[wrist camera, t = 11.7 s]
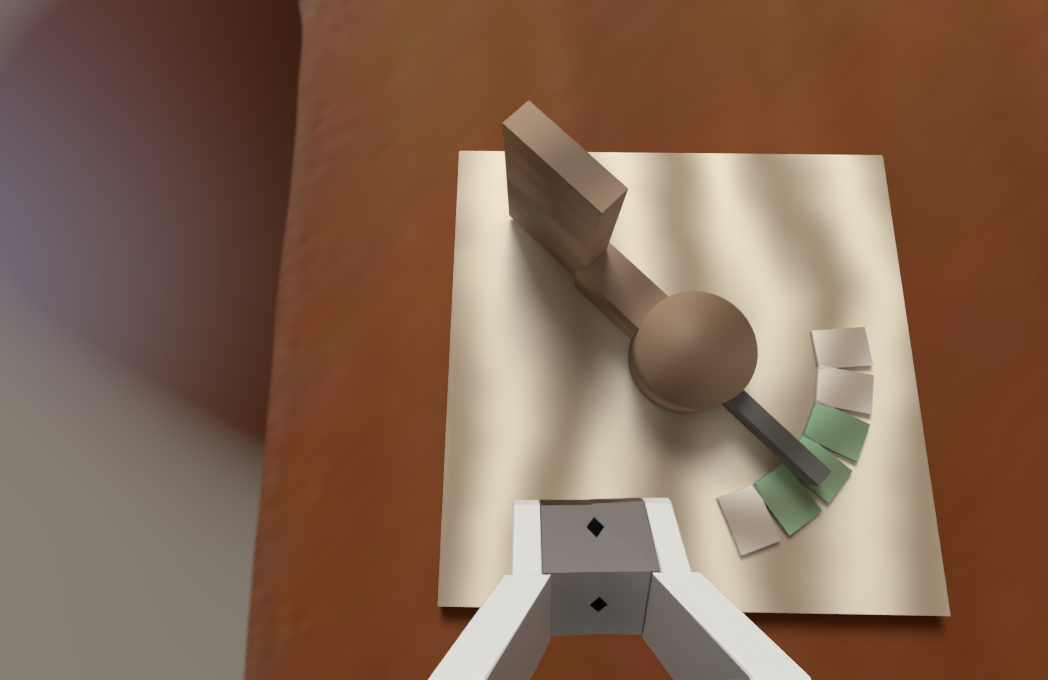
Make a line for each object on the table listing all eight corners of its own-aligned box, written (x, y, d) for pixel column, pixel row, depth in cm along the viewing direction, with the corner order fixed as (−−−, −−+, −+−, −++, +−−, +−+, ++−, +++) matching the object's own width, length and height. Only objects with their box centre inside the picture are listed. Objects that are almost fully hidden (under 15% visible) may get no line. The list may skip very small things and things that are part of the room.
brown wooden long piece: (482, 239, 33) (465, 154, 24) (554, 174, 34) (563, 69, 25) (772, 519, 29) (878, 541, 20) (844, 438, 30) (975, 424, 21)
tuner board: (440, 602, 29) (436, 607, 28) (461, 159, 35) (458, 148, 34) (936, 611, 29) (954, 617, 28) (872, 164, 35) (885, 152, 34)
